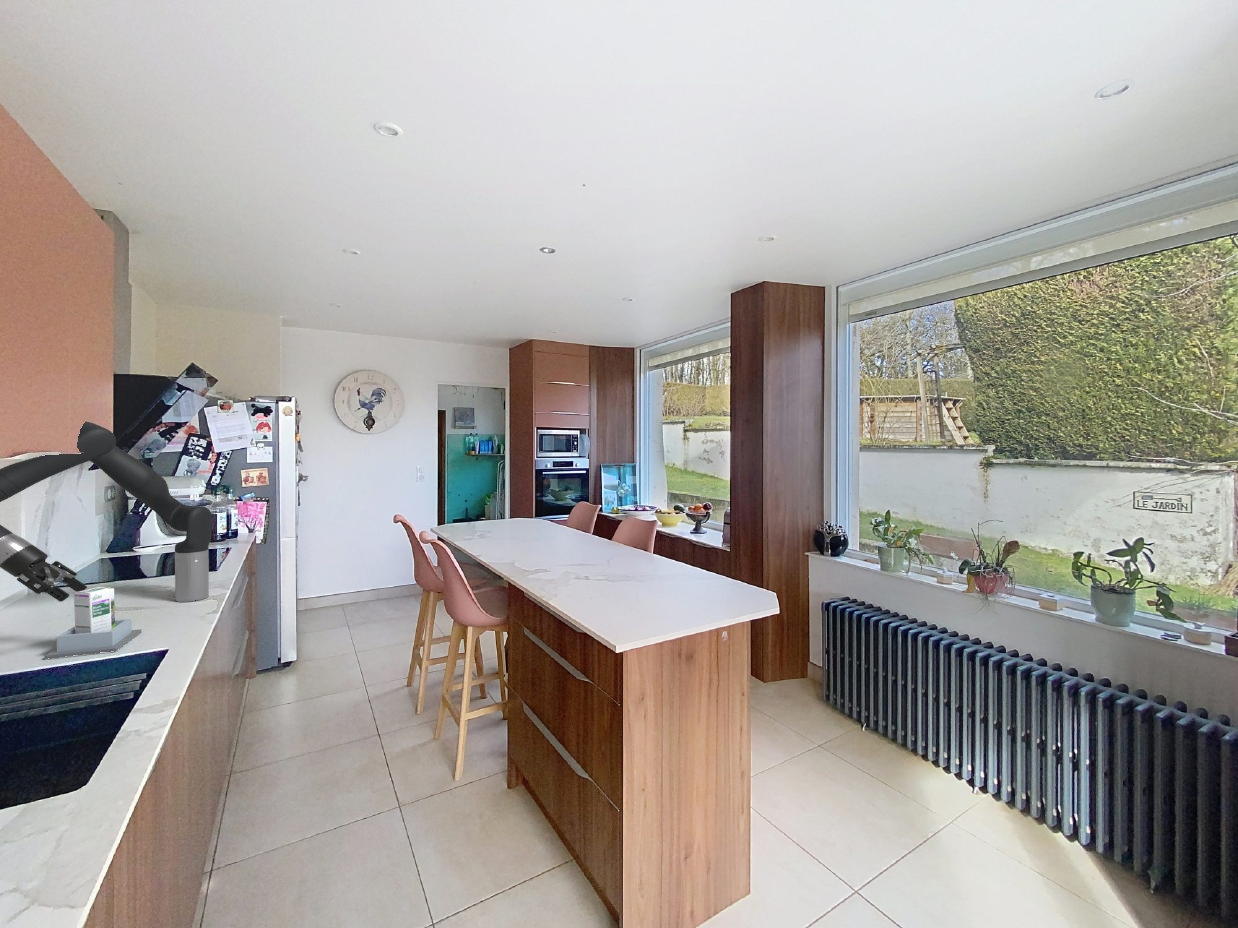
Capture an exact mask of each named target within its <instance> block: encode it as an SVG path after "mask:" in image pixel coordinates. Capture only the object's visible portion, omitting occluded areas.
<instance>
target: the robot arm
mask: <svg viewBox="0 0 1238 928" xmlns="http://www.w3.org/2000/svg"><path fill="white" fill-rule="evenodd" d="M116 444H117V438H116V436H115V433H113V432H112V431H111V430H109V429H107V428H106V427H103V426H101V425H99V424H96V423H93V422H89V421H85V423H84V424H83V426H82V428H81V429H80V434H79V436H78V442H77V448H78V449H79V451H80V452H84V453H81V454H59V455H45V454H44V455H45V456H42V455H39V457H38V456H36V457H32V458H28V459H25V460H21V461H19V462H18V461H17V462H15V463H11V464H9V465H6V466H4V467H2V468H0V503H1V502H4V501H6V500H7V499H9V498H11V497H13V496H15V495H17V494H19V493H20V492H23V491H24V490H26V489H28V488H30V487H32V486H34V485H36V484H39V483H40V482H42V481H45V480H46V479H48V478H50V477H52V476H55V475H58V474H60V473H62V472H64V471H67V470H70V469H72V468H74V467H77V466H79V465H82V464H85V463H87V462H91V463H92V464H94V465H96V467H98V468H99V469H100V470H101V471H102V472H104V474H105V475H106V476H107V477H109V478H110V480H113V481H114V482H115V483H116V484H117V485H118V486H120V487H121V488H122V490H123V489H124V491H125V492H127V493H129V494H130V495H131V496H133V497H134V498H136V499H137V500H138V501H140V502H141V503H142V504H144V505H145V506H147V508H149V509H151V510H152V511H153V512H155V514H157V515H158V516H159V517H160V518H161V519H162V520H163V521H164V522H165V523H166V524H167V525H168V526H169V527H170V528H172V529H173V530H176V531H179V532H186V536H185V539H184V540H183V541H179V542H177V543H176V544H175V545H174V587H175V588H174V592H175V594H174V595H175V596H174V601H175V602H180V603H185V602H186V603H187V602H195V600H196V601H201V600H204V599H206V598H209V596H210V594H209V592H210V588H209V587H210V585H209V583H210V582H209V581H210V580H209V579H210V578H209V577H210V575H209V574H210V573H209V566H210V565H209V563H210V559H209V558H210V557H209V546H210V542H211V540H212V531H213V530H212V529H213V528H212V527H213V516H212V512H211V510H210V509H209V508H208V507H206V506H203V505H187V504H184V503H183V502H180V501H178V499H176V498H175V497H173V496H172V495H171V493H170V491H169V490H170V489H169V485H168V482H167V481H166V479H164V477H162V476H161V475H160V474H159V473H158V472H157V471H156V470H155V469H153V468H151V466H149V465H147V464H146V463H145V462H142V461H141V460H139V459H138V458H136V457H135V456H132V455H131V454H129V453H127V452H126V451H124V450H122V449H121V448H120V447H118V446H117V445H116ZM48 557H49V555H48V554H47V553H45V552H44V551H42V550H41V549H40V548H38V547H37V546H35V545H33V544H32V543H31V542H29V541H28V540H26V539H25V538H23V537H21V536H19V535H17V534H15V533H13V532H12V531H10V530H9V529H8V528H6V527H5V526H3V525H1V524H0V569H2V570H3V571H4V572H7V573H8V574H9V575H11V576H13V577H14V578H16V581H17V582H18V583H20V584H22V585H23V586H25V587H26V588H28V589H30V591H31V592H33V593H35V594H37V595H40V594H41V593H42V594H45V595H46V594H47V595H49V596H50V597H52V598H53V599H54V600H55V599H56V600H57V601H58V602H65V600H67V599H68V598H69V597H70V593H68V592H67V591H65V590H64V589H62V588H60V587H59V586H56V584H57V583H61V584H63V585H66V586H67V587H68V588H70V589H71V590H73V591H75V592H79V591H83V590H87V588H88V586H87V585H86V584H85V583H83V582H81V581H80V580H78V579H77V578H76V576H77V575H78V573H77V572H76V571H74V570H72V568H69V567H67V566H66V565H64V564H63V563H62V562H60V561H58V560H55V561H54V562H52V563H49V562H46V560H47V559H48ZM55 583H56V584H55Z"/></svg>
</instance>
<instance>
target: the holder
mask: <svg viewBox="0 0 1238 928" xmlns="http://www.w3.org/2000/svg"><path fill="white" fill-rule="evenodd" d="M132 623H133V622H132V618H123V619H115V627H114V628H113V629H111V630H110V631H102V632H91V633H81V634H75V626H73V627H71V628H69V629H67V630H66V631H65V632H62V633H61V634H59V635H58V636H56V648H55V649H53V650H52V651H50V652H48V653H46V654H45V655H44V658H43V659H46V660H49V659H48V658H55V659H60V658H59V657H65V656H73V655H83V654H93V655H96V654H95V653H100V652H111V651H117V650H118V649H119V650H121V649H122V648H123V647H124V646H123V645H125V644H126V645H128V644H129V643H130V642H131V641H133V640H134V639H135V638H136V637H138V636H139V635H140V634H142V629H132ZM132 639H133V640H132ZM129 641H130V642H129ZM128 642H129V643H128ZM126 645H125V646H126ZM122 646H123V647H122ZM121 647H122V648H121ZM120 648H121V649H120ZM119 650H118V651H119ZM118 651H117V652H118ZM111 653H112V652H111ZM83 656H84V655H83ZM65 658H66V657H65Z"/></svg>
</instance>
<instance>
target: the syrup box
mask: <svg viewBox="0 0 1238 928" xmlns="http://www.w3.org/2000/svg"><path fill="white" fill-rule="evenodd" d="M115 603H116V602H115V588H114V587H111V586H96V587H91V588H89V589H85V590H83V591H79V592H76V591H75V592H73V605H74V606H73V607H74V608H73V609H74V612H73V613H74V627H75V634H81V633H91V632H102V631H110V630H111V629H113V628H114V627H115V620H116V614H115V613H116V611H115V610H116V609H115V607H116V606H115Z"/></svg>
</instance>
